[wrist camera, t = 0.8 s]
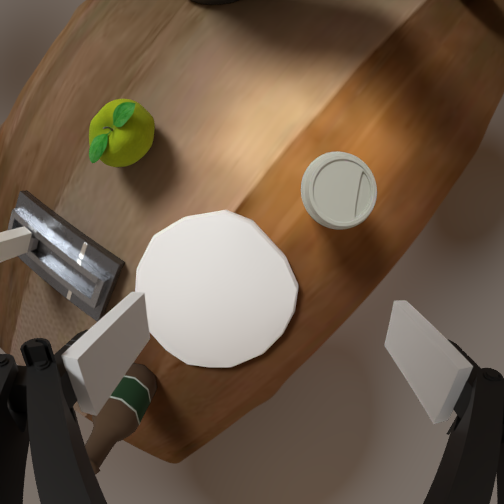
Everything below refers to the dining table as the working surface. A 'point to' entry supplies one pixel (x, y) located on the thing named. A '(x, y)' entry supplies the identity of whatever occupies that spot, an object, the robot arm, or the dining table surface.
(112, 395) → the beer bottle
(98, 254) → the fader console
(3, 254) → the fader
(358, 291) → the dining table surface
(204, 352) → the decorative plate
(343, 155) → the coffee cup
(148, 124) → the fruit
